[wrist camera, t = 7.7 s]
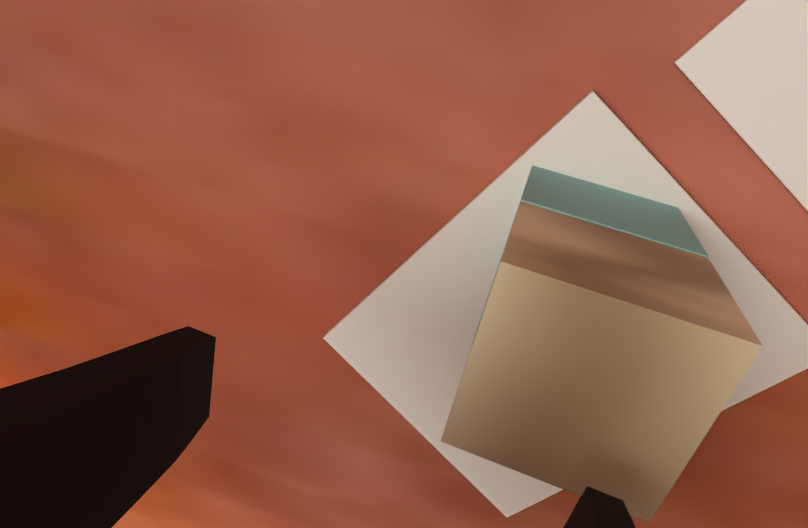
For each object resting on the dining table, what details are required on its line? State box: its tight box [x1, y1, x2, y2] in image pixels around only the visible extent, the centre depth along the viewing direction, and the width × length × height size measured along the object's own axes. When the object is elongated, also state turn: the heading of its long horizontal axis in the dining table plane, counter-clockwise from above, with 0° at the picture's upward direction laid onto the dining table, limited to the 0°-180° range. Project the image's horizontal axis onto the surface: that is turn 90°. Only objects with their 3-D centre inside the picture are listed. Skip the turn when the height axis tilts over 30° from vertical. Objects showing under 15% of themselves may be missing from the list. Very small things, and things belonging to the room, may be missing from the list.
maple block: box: [441, 201, 763, 523], centre depth 12 cm, size 4×4×4 cm
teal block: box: [472, 165, 709, 344], centre depth 15 cm, size 4×4×4 cm
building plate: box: [323, 90, 808, 517], centre depth 19 cm, size 11×14×1 cm
